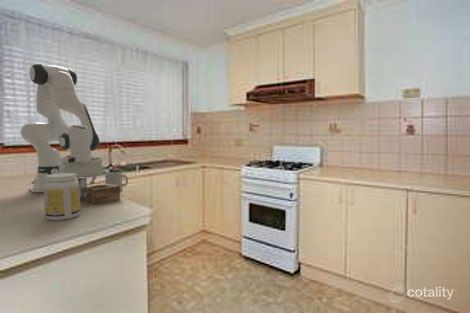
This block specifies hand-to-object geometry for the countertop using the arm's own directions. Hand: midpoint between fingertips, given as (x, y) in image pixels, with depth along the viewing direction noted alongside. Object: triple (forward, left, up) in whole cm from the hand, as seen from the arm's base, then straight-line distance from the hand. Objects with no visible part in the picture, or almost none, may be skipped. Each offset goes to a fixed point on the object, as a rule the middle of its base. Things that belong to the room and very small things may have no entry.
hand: (82, 185), depth 143 cm
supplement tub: (+23, -19, -7) cm, 31 cm away
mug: (-5, +21, -7) cm, 23 cm away
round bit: (-1, 0, -7) cm, 7 cm away
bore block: (+9, +5, -7) cm, 13 cm away
